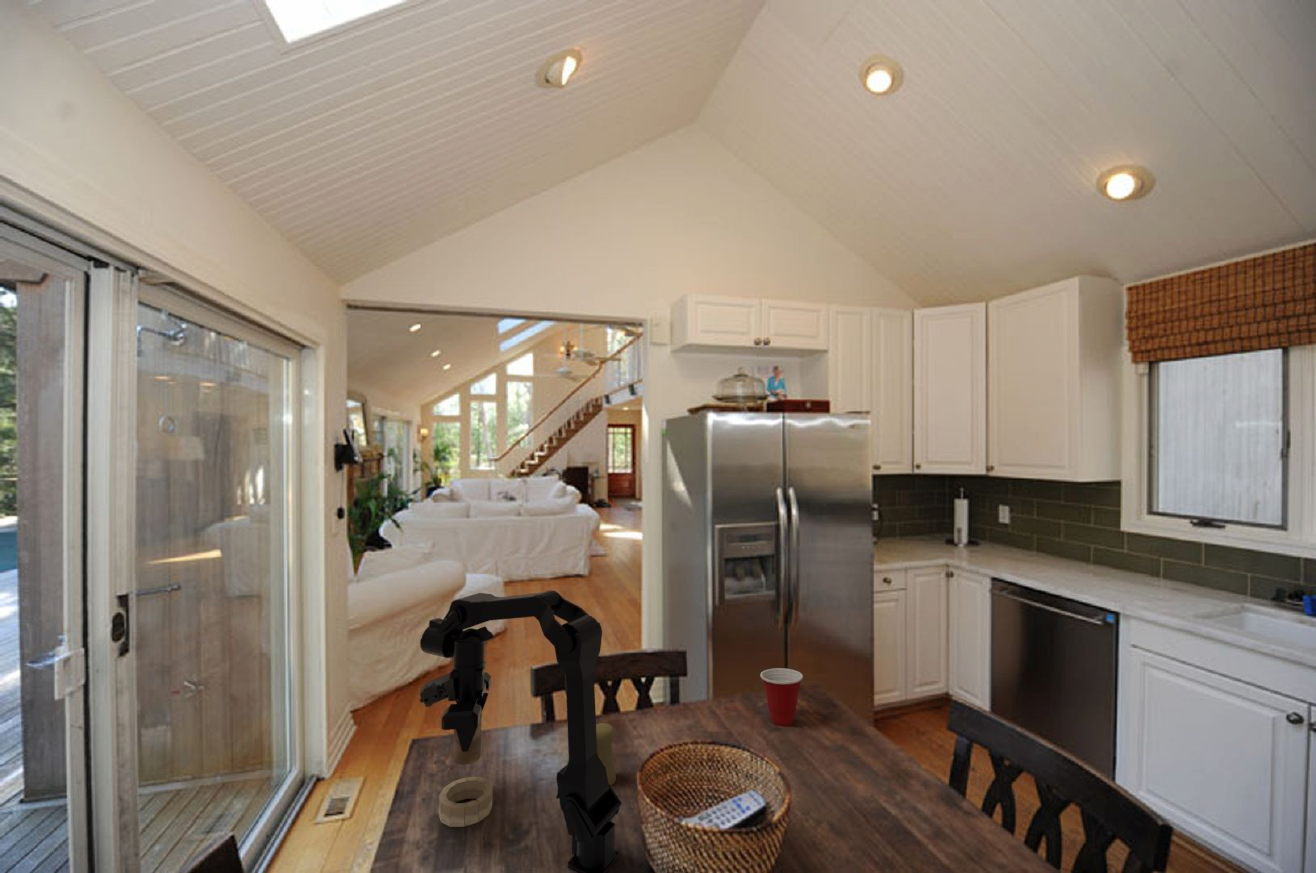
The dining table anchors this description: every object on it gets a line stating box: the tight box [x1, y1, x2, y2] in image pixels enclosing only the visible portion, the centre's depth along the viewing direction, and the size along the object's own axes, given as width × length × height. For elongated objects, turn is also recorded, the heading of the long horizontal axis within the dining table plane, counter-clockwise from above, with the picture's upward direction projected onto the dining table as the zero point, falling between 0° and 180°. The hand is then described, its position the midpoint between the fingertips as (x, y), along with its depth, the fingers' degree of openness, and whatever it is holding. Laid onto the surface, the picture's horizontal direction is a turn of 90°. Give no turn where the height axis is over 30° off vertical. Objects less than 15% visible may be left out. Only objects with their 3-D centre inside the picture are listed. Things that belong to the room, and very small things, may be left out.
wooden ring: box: [438, 776, 494, 828], centre depth 105 cm, size 9×9×4 cm
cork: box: [596, 722, 617, 787], centre depth 116 cm, size 6×6×11 cm
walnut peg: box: [452, 705, 483, 766], centre depth 105 cm, size 5×5×9 cm
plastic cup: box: [759, 667, 804, 727], centre depth 142 cm, size 11×11×12 cm
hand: (467, 743), depth 105 cm, fingers closed on walnut peg, 5 cm apart
